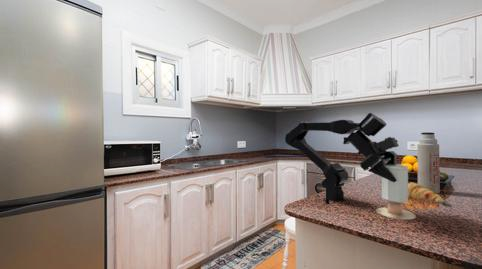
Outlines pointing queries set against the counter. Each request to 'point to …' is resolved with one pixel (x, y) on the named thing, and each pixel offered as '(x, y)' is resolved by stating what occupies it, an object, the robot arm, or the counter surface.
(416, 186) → the croissant
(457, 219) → the counter surface
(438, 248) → the counter surface
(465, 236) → the counter surface
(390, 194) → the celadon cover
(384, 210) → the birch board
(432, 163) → the thermos bottle
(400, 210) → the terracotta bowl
